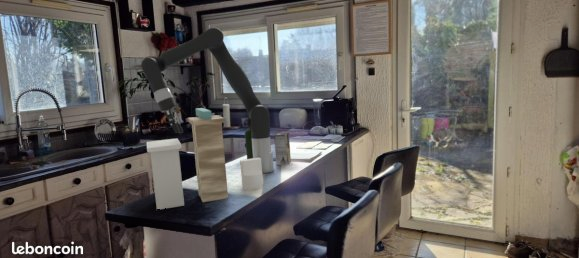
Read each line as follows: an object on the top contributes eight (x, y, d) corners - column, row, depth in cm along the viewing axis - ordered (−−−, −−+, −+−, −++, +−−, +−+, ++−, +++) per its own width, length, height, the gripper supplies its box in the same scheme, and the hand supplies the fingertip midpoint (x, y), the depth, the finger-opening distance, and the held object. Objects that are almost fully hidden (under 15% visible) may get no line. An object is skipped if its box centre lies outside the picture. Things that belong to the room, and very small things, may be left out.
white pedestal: (153, 199, 161) (146, 141, 158) (183, 194, 165) (177, 138, 162) (154, 212, 144) (146, 148, 141) (187, 207, 148) (181, 144, 145)
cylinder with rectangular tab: (245, 190, 165) (243, 162, 163) (239, 185, 173) (237, 159, 172) (266, 187, 168) (263, 159, 167) (259, 182, 177) (257, 156, 175)
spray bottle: (268, 158, 228) (265, 115, 224) (253, 161, 222) (249, 117, 218) (258, 156, 236) (255, 115, 233) (243, 159, 230) (240, 117, 227)
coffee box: (279, 161, 219) (277, 132, 216) (291, 161, 217) (289, 132, 215) (275, 165, 210) (273, 135, 208) (287, 164, 208) (285, 134, 206)
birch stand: (195, 192, 166) (187, 117, 162) (223, 188, 170) (216, 115, 166) (201, 204, 150) (193, 121, 146) (232, 199, 154) (225, 118, 150)
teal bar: (196, 115, 172) (195, 108, 172) (203, 114, 173) (202, 107, 173) (204, 119, 150) (203, 111, 149) (212, 118, 151) (211, 111, 150)
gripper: (169, 94, 172) (184, 128, 172) (175, 98, 186) (189, 130, 186) (153, 101, 171) (168, 135, 171) (160, 104, 185) (174, 136, 185)
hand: (179, 132), depth 179 cm, fingers open, 8 cm apart
